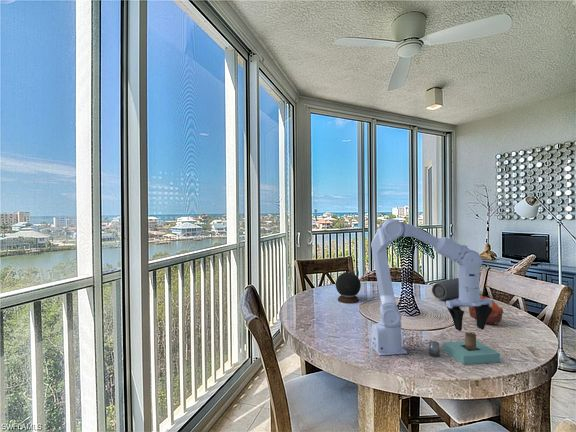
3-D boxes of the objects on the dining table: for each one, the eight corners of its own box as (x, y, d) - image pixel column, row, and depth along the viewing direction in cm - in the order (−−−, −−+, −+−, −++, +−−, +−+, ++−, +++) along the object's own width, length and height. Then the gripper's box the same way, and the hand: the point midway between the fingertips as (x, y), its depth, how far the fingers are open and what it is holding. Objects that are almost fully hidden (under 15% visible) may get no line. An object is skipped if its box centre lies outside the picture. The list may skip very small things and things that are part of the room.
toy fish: (466, 323, 125) (465, 295, 125) (472, 316, 132) (471, 290, 132) (501, 330, 116) (500, 300, 116) (505, 322, 124) (505, 295, 124)
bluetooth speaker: (455, 293, 171) (455, 275, 171) (472, 296, 163) (472, 278, 163) (430, 299, 160) (430, 280, 160) (447, 303, 152) (447, 283, 151)
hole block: (463, 364, 91) (463, 356, 91) (443, 349, 101) (442, 342, 101) (500, 361, 92) (499, 353, 92) (476, 347, 102) (476, 340, 102)
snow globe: (363, 303, 155) (363, 274, 155) (337, 304, 155) (337, 275, 155) (358, 296, 168) (357, 269, 168) (334, 297, 168) (333, 270, 168)
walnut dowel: (469, 358, 95) (468, 336, 95) (463, 353, 98) (463, 332, 98) (478, 357, 95) (478, 335, 95) (472, 353, 98) (472, 332, 98)
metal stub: (432, 357, 96) (432, 345, 96) (427, 353, 99) (427, 341, 99) (441, 357, 96) (441, 344, 96) (435, 352, 99) (435, 340, 99)
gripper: (456, 290, 92) (456, 335, 92) (499, 288, 93) (500, 332, 94) (441, 285, 99) (442, 326, 99) (482, 283, 101) (483, 324, 101)
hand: (469, 329), depth 97 cm, fingers open, 7 cm apart
